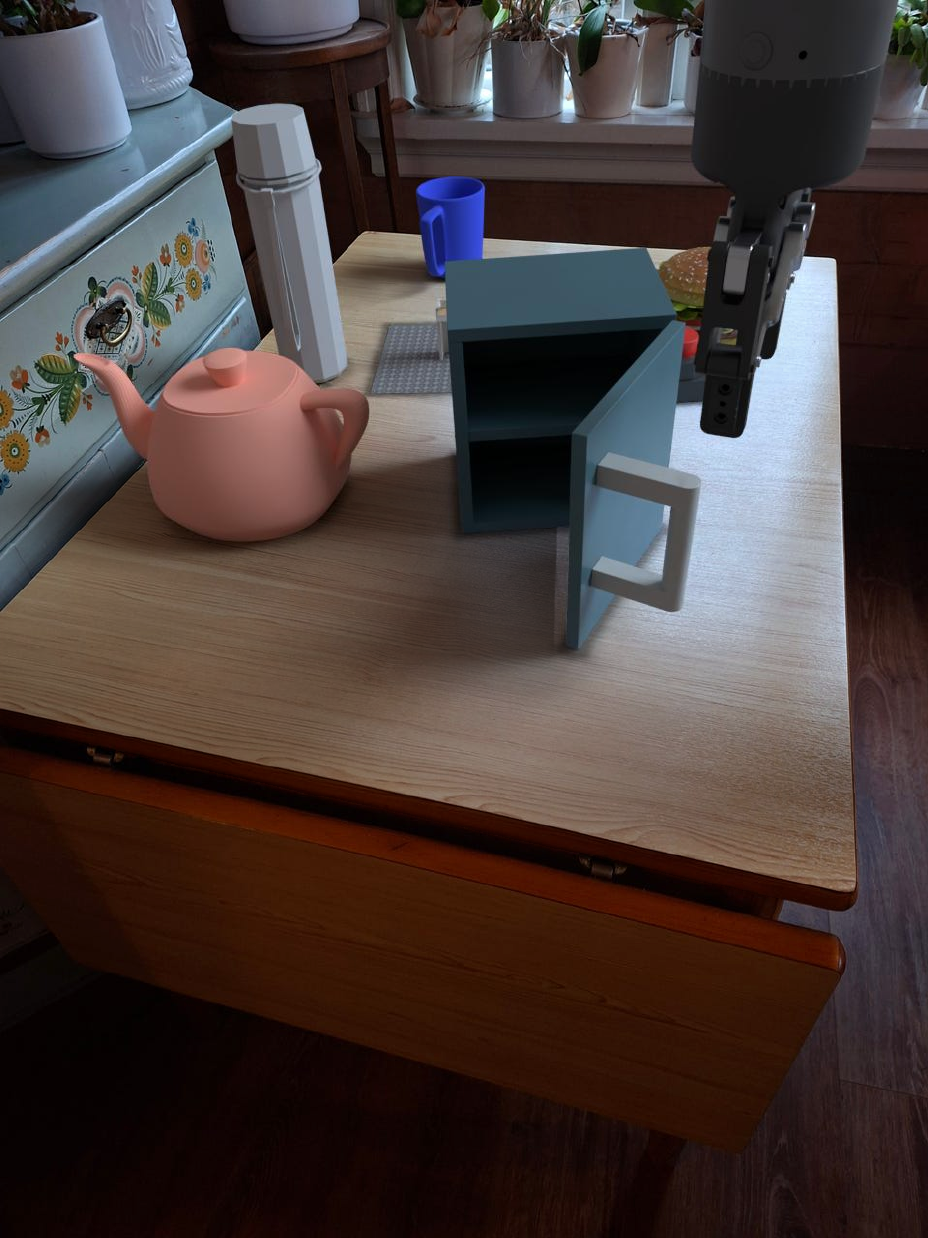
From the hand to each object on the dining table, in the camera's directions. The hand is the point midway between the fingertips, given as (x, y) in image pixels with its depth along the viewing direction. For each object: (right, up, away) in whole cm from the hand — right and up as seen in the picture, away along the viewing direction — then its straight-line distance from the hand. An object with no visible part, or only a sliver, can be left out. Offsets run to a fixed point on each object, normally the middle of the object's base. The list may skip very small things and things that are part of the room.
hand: (739, 391), depth 49 cm
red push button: (+6, +14, +39) cm, 42 cm away
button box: (+6, +11, +42) cm, 44 cm away
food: (+11, +20, +51) cm, 55 cm away
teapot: (-34, -1, +32) cm, 47 cm away
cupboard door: (0, -11, +19) cm, 22 cm away
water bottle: (-31, +14, +48) cm, 58 cm away
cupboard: (-7, -1, +30) cm, 31 cm away
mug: (-17, +30, +64) cm, 73 cm away
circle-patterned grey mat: (-14, +16, +49) cm, 53 cm away
